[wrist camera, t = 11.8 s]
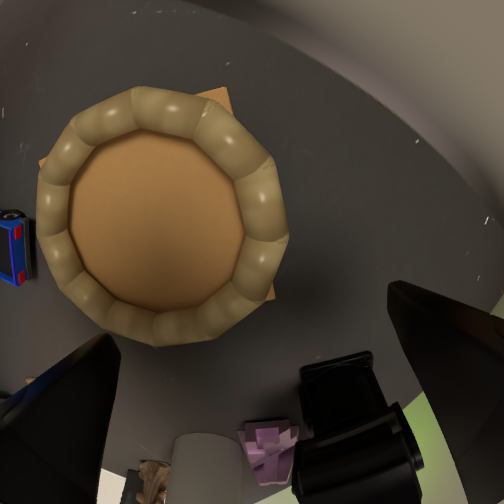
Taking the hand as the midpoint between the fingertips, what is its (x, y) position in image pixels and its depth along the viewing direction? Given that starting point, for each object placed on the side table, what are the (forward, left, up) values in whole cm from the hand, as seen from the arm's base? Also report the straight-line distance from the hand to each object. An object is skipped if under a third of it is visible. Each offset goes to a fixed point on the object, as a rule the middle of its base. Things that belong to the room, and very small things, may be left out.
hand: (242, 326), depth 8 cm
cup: (+11, +27, -11) cm, 31 cm away
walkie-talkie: (+28, +39, -11) cm, 49 cm away
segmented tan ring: (+6, -1, -9) cm, 11 cm away
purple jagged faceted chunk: (+3, +25, -11) cm, 27 cm away
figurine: (+21, +34, -11) cm, 41 cm away
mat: (+6, -1, -11) cm, 12 cm away
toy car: (+22, -5, -11) cm, 25 cm away
